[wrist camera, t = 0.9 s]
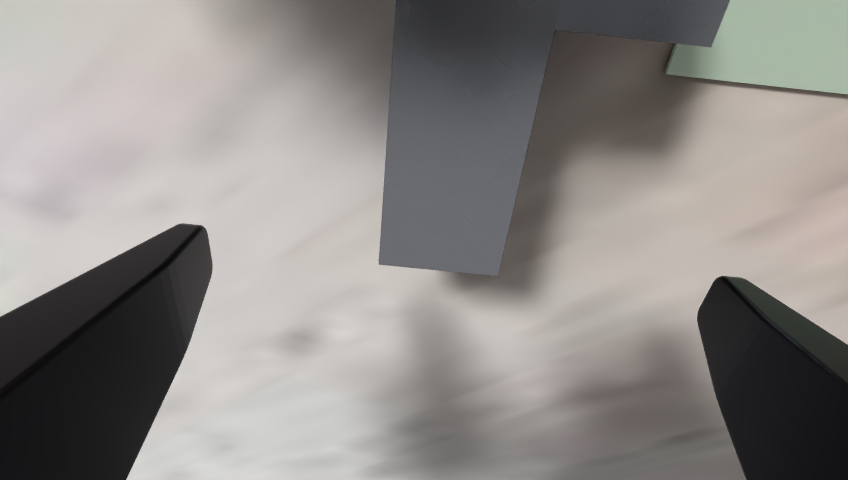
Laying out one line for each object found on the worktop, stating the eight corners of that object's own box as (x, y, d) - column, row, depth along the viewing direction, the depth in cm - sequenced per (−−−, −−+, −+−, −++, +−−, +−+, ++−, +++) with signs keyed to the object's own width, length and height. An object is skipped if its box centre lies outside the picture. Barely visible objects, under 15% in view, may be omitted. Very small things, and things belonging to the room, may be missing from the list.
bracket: (420, -180, 12) (409, -194, 8) (678, -148, 13) (788, -146, 9) (393, 169, 18) (378, 264, 14) (576, 188, 18) (615, 287, 14)
